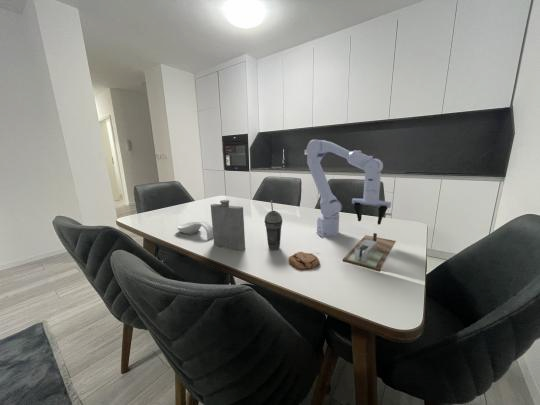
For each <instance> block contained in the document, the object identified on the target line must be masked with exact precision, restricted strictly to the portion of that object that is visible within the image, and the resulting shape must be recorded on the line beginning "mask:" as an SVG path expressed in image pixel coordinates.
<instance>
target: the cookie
mask: <svg viewBox="0 0 540 405" xmlns="http://www.w3.org/2000/svg"><path fill="white" fill-rule="evenodd" d="M288 263H289V265H290V266H291V267H292V268H295V269H297V270H301V271H302V270H313V269H315V268H317V267H319V265H320V260H319V258H318V257H317V255H314V253H308V252H303V251H298V252H295V253H294V254H292V255H290V256H288Z"/></svg>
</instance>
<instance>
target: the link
mask: <svg viewBox="0 0 540 405" xmlns="http://www.w3.org/2000/svg"><path fill="white" fill-rule="evenodd" d="M376 250H377V242H376V241H372V240H367V239H366V240H364V241H363V242H362V243H361V244H360V245H359V246H358V247H357V248H356V249H355V259H354V260H357V261H360V257H361V256H362V262H364V263H367V262H368V261H369V260H370V259H371V257H372V256H373V255H374V254H375V253H376Z"/></svg>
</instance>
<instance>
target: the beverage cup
mask: <svg viewBox="0 0 540 405" xmlns="http://www.w3.org/2000/svg"><path fill="white" fill-rule="evenodd" d="M273 204H274V203H273V199H270V205H271V206H270V207H271V210H270V211H269V212H267V213H266V215H265V218H264V225H265V228H266V231H265V232H266V237H267V247H268V250H270V251H278V250H279V249H280V247H281V235H282V226H283V217H282V215H281V213H279V212H278V211H276V210H274V209H273V208H274V206H273Z"/></svg>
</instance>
